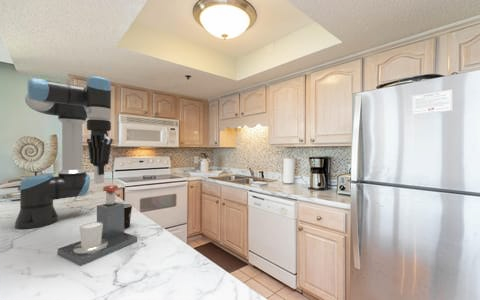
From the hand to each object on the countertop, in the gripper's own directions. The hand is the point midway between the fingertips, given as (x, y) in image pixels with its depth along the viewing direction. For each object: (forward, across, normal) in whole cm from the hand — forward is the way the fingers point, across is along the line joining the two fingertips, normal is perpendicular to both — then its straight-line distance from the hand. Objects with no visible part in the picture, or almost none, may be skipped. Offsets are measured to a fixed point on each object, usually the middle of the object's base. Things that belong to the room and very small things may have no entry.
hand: (99, 183), depth 81 cm
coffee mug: (+24, -12, +18) cm, 32 cm away
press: (+24, +1, 0) cm, 24 cm away
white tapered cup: (+21, +3, -4) cm, 22 cm away
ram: (+14, -3, +6) cm, 16 cm away
